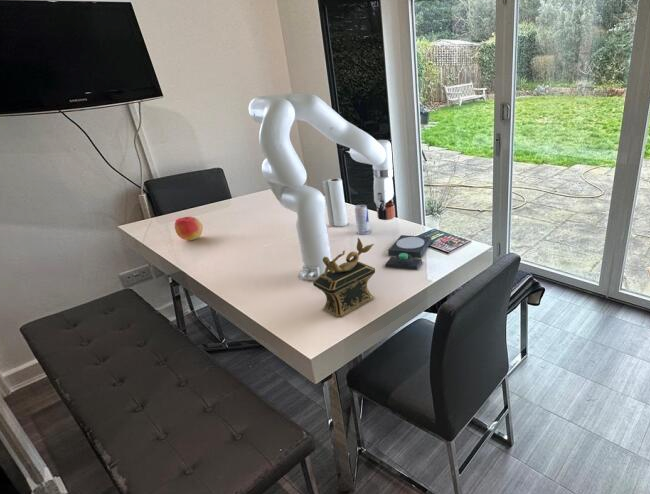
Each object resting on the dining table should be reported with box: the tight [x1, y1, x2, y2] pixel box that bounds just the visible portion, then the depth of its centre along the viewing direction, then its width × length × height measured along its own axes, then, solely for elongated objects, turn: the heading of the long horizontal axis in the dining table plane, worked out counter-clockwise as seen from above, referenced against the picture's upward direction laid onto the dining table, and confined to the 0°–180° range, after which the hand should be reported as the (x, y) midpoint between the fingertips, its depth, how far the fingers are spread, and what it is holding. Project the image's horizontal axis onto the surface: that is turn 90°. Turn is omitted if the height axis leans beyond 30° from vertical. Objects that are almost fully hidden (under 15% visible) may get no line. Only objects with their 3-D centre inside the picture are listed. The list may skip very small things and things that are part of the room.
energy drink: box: [354, 204, 371, 235], centre depth 177 cm, size 5×5×12 cm
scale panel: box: [385, 254, 423, 271], centre depth 150 cm, size 6×12×3 cm, turn 79°
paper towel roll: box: [322, 177, 349, 227], centre depth 184 cm, size 7×6×21 cm
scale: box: [387, 234, 432, 259], centre depth 163 cm, size 15×13×3 cm
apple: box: [174, 216, 203, 241], centre depth 173 cm, size 10×10×10 cm
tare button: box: [399, 253, 408, 260], centre depth 149 cm, size 3×3×2 cm
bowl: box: [376, 202, 396, 221], centre depth 164 cm, size 7×7×5 cm
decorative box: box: [312, 237, 376, 317], centre depth 124 cm, size 20×10×20 cm, turn 143°
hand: (386, 215), depth 165 cm, fingers closed on bowl, 7 cm apart
